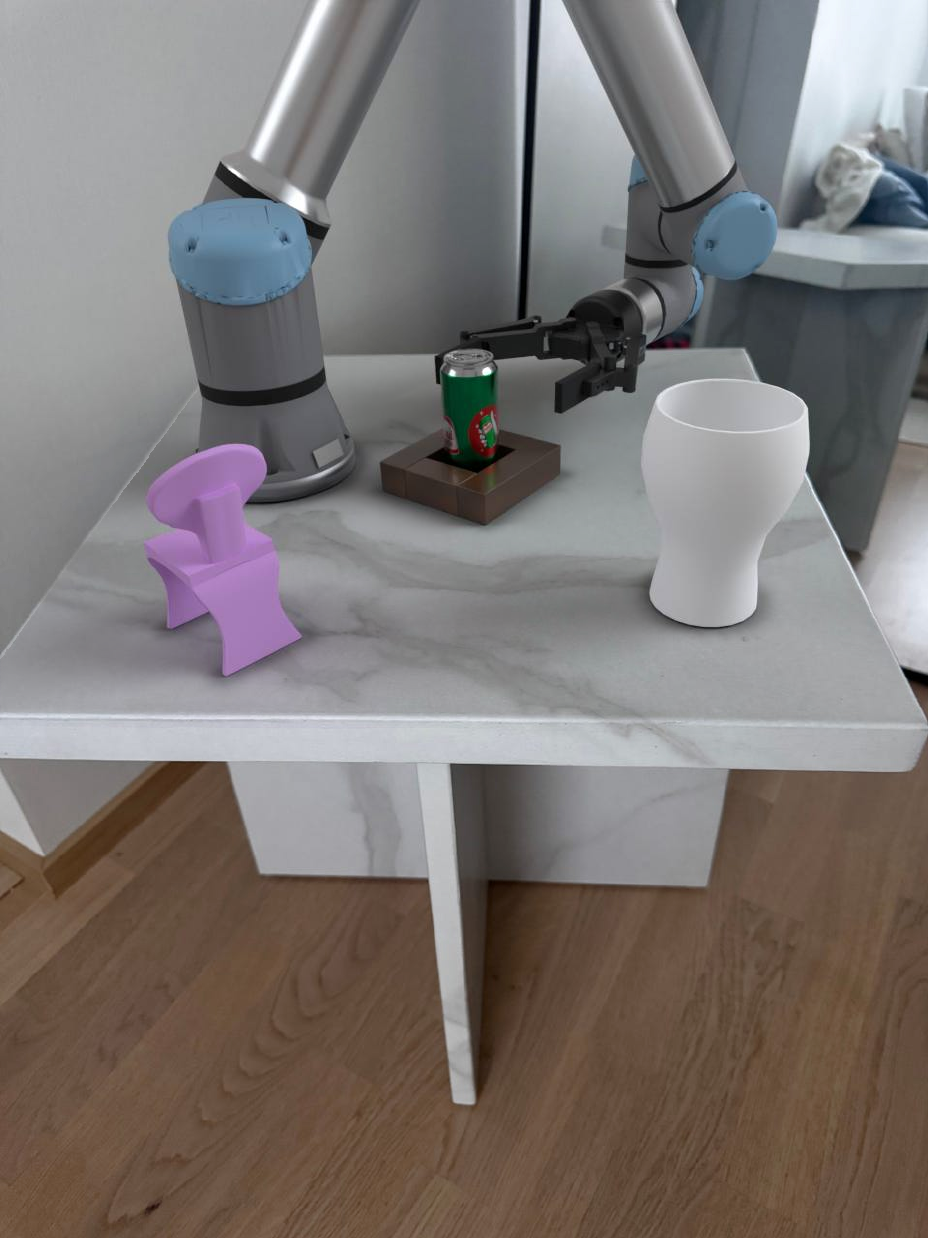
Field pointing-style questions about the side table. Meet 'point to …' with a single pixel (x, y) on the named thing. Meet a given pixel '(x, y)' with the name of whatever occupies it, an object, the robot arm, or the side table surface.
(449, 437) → the soda can
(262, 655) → the toy chair
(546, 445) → the square frame
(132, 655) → the side table surface
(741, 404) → the cup
